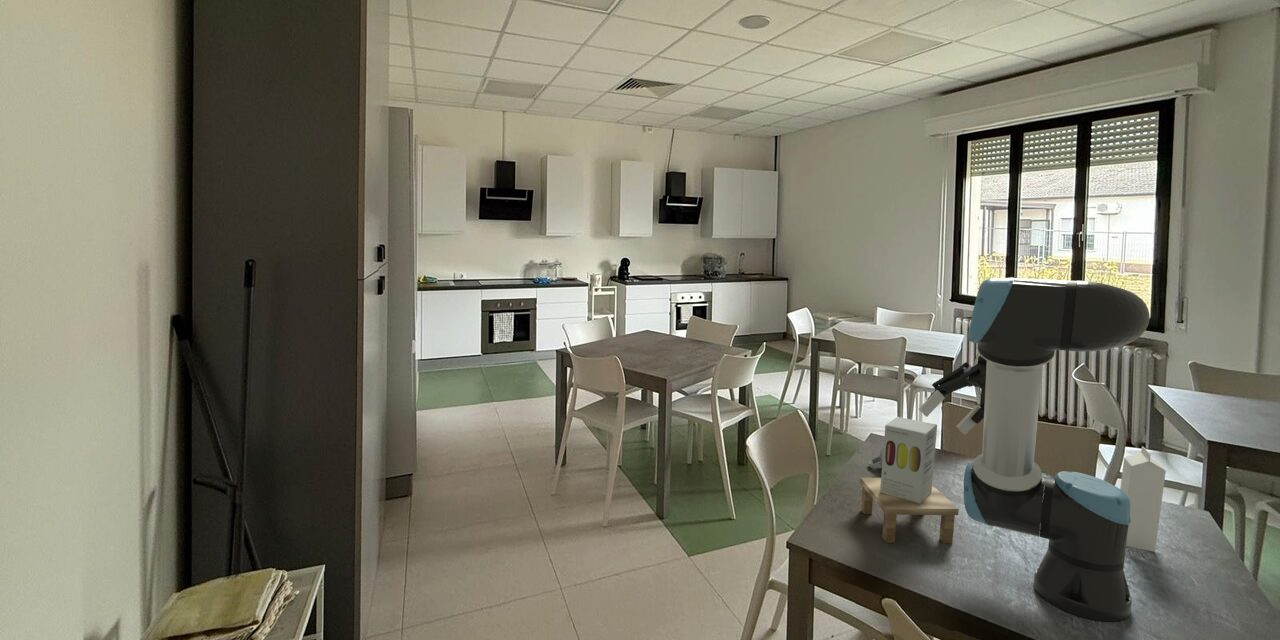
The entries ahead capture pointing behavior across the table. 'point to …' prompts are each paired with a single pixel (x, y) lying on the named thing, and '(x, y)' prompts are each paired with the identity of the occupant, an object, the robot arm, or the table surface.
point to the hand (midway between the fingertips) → (940, 421)
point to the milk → (1143, 498)
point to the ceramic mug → (877, 459)
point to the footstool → (907, 509)
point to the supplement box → (908, 459)
